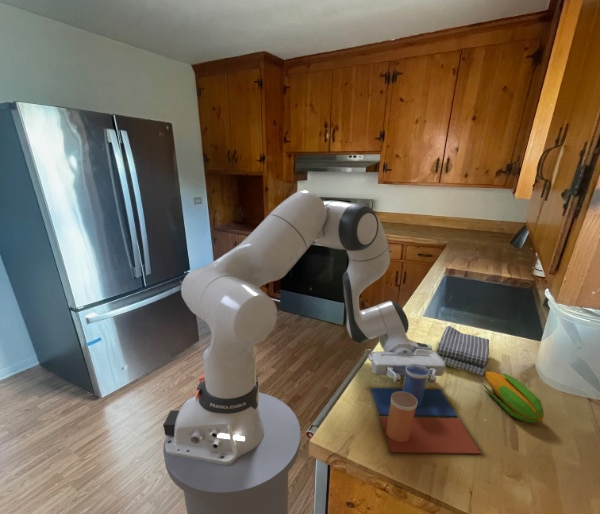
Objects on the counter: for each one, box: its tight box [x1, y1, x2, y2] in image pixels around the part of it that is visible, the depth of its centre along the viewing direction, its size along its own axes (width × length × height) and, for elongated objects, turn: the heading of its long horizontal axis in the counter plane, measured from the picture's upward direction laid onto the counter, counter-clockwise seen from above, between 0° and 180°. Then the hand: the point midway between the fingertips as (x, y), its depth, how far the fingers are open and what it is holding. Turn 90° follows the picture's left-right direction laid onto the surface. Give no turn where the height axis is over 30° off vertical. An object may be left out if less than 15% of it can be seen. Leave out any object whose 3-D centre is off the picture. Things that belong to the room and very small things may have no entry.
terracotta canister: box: [386, 391, 418, 442], centre depth 76 cm, size 6×6×10 cm
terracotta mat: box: [380, 416, 482, 455], centre depth 78 cm, size 20×11×1 cm, turn 90°
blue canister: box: [402, 364, 429, 408], centre depth 88 cm, size 6×6×10 cm
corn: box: [482, 371, 545, 424], centre depth 88 cm, size 7×8×20 cm
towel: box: [436, 325, 490, 377], centre depth 110 cm, size 15×18×8 cm
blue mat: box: [370, 387, 458, 418], centre depth 89 cm, size 20×11×1 cm, turn 90°
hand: (415, 380), depth 87 cm, fingers open, 8 cm apart
